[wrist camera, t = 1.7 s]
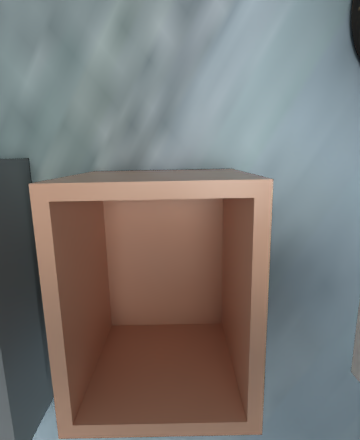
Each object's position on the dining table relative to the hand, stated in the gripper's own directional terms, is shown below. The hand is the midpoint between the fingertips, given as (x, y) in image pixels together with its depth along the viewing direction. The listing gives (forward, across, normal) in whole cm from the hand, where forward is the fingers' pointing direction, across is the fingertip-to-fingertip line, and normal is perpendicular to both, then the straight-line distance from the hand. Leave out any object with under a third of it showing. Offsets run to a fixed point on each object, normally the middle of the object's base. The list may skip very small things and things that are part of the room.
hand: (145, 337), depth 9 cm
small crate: (+10, 0, 0) cm, 10 cm away
